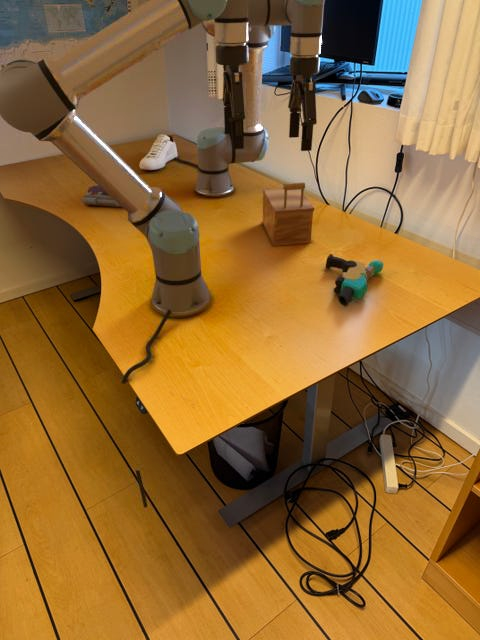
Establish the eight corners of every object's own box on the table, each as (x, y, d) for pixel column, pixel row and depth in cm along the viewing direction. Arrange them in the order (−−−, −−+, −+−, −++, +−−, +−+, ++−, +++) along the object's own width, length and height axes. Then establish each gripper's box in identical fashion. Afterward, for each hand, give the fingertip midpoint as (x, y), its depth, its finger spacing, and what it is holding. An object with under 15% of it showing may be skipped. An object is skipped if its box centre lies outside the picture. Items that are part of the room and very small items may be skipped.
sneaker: (133, 173, 208) (129, 144, 201) (161, 153, 230) (158, 127, 223) (155, 175, 205) (151, 146, 198) (180, 155, 227) (178, 129, 220)
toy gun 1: (139, 195, 187) (124, 210, 175) (95, 192, 190) (77, 207, 178) (137, 185, 184) (122, 200, 173) (93, 182, 188) (75, 197, 176)
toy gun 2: (303, 285, 123) (360, 300, 117) (335, 245, 141) (386, 256, 135) (302, 300, 125) (358, 315, 119) (334, 258, 144) (383, 270, 138)
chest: (310, 242, 153) (313, 210, 146) (273, 245, 151) (274, 213, 145) (296, 220, 167) (298, 189, 160) (262, 223, 165) (263, 192, 159)
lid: (314, 211, 145) (316, 184, 140) (275, 214, 144) (276, 187, 139) (298, 189, 160) (299, 164, 155) (263, 191, 159) (263, 167, 154)
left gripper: (258, 50, 98) (257, 154, 110) (239, 37, 118) (240, 127, 130) (222, 51, 97) (225, 156, 110) (209, 38, 117) (213, 128, 129)
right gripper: (335, 62, 110) (326, 156, 122) (306, 49, 129) (301, 131, 142) (303, 63, 109) (297, 157, 121) (279, 50, 129) (276, 132, 141)
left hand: (233, 140), depth 120 cm, fingers open, 13 cm apart
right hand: (299, 143), depth 132 cm, fingers open, 12 cm apart
